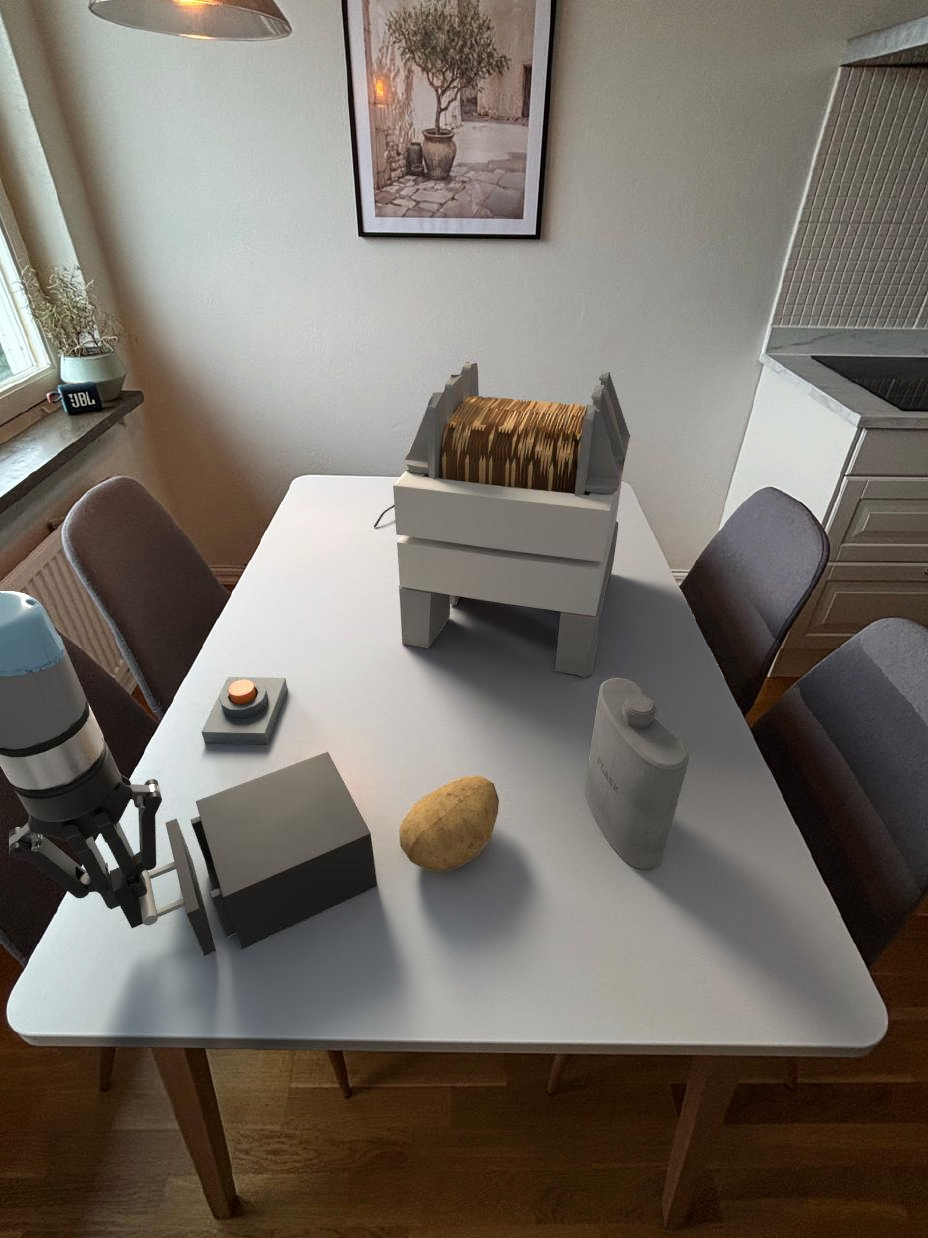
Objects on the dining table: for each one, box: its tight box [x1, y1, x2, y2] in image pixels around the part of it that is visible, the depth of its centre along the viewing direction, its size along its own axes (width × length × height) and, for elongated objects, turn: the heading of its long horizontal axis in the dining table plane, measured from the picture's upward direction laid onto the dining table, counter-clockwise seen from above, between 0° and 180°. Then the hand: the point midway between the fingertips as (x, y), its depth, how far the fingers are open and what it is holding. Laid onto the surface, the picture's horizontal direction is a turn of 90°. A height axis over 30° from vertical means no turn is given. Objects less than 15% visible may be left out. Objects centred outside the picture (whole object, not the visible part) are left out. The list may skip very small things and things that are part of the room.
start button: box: [229, 680, 256, 704], centre depth 99 cm, size 4×4×2 cm
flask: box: [584, 677, 690, 870], centre depth 80 cm, size 15×6×20 cm, turn 17°
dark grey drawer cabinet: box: [195, 751, 378, 950], centre depth 77 cm, size 16×14×10 cm
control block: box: [200, 676, 288, 745], centre depth 101 cm, size 12×9×4 cm
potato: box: [398, 775, 500, 873], centre depth 81 cm, size 10×14×8 cm
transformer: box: [392, 361, 631, 678], centre depth 113 cm, size 34×33×41 cm
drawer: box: [139, 815, 236, 957], centre depth 75 cm, size 19×12×8 cm, turn 119°
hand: (137, 914), depth 72 cm, fingers closed
